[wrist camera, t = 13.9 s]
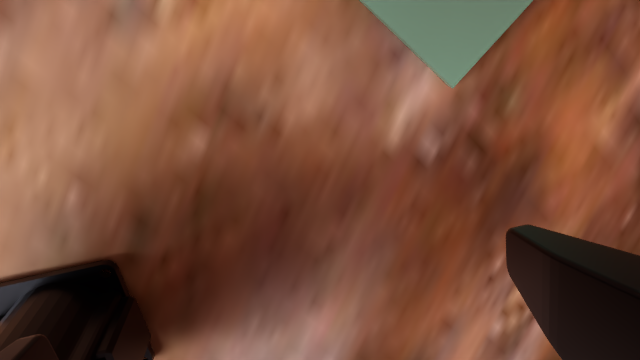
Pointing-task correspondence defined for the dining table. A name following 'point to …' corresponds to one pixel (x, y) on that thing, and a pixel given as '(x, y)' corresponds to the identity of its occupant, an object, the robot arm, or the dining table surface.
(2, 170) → the dining table surface
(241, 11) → the dining table surface
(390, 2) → the circuit board
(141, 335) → the robot arm
